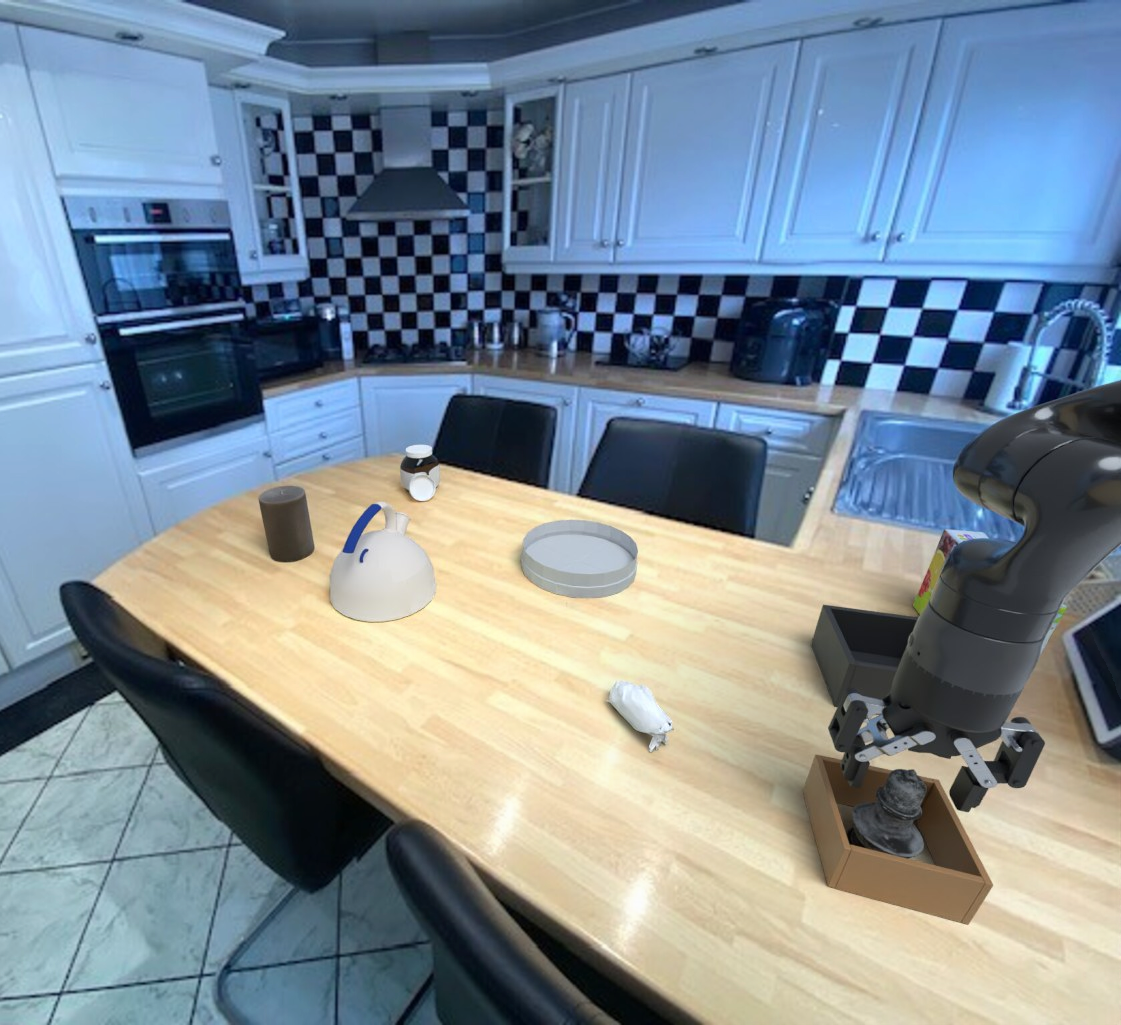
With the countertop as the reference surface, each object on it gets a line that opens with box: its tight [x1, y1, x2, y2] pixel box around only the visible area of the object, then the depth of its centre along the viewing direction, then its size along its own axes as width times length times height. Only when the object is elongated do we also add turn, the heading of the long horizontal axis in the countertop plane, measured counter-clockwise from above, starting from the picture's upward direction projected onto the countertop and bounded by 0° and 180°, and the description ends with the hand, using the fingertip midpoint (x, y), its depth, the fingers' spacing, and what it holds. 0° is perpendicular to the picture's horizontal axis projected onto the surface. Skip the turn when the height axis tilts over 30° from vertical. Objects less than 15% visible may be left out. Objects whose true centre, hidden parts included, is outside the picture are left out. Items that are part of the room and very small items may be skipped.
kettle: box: [329, 501, 438, 623], centre depth 102 cm, size 20×21×18 cm
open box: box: [810, 604, 919, 716], centre depth 77 cm, size 14×14×8 cm
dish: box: [520, 519, 639, 599], centre depth 110 cm, size 22×22×5 cm
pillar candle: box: [257, 484, 315, 563], centre depth 119 cm, size 10×10×15 cm
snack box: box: [912, 528, 1068, 660], centre depth 82 cm, size 21×6×15 cm, turn 161°
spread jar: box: [399, 444, 441, 502], centre depth 145 cm, size 12×11×12 cm
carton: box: [802, 754, 994, 925], centre depth 57 cm, size 11×11×6 cm
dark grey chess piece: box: [846, 768, 927, 859], centre depth 55 cm, size 6×6×12 cm
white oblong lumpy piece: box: [605, 680, 674, 753], centre depth 73 cm, size 5×7×10 cm
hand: (903, 791), depth 54 cm, fingers open, 8 cm apart
